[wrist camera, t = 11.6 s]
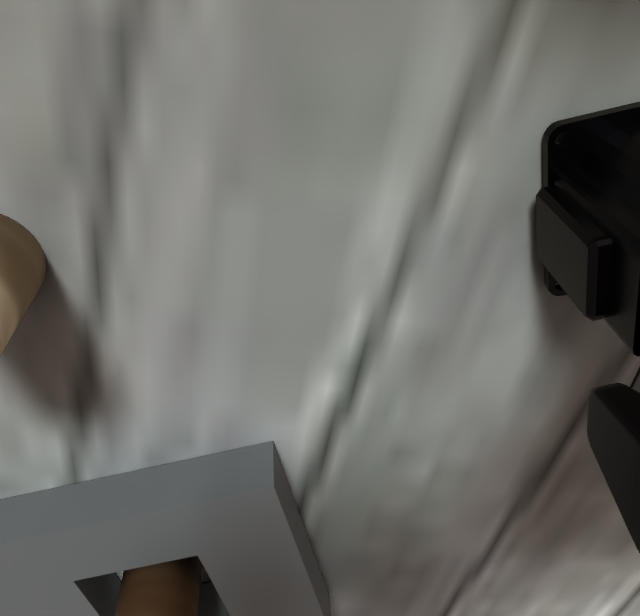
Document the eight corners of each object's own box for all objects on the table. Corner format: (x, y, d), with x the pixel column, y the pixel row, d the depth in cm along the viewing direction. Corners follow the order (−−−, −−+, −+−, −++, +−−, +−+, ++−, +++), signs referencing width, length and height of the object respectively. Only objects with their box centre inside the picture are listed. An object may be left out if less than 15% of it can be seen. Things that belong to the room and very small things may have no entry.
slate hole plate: (273, 441, 26) (273, 487, 24) (328, 595, 33) (333, 641, 31) (-34, 506, 27) (-59, 557, 25) (81, 644, 33) (69, 693, 31)
